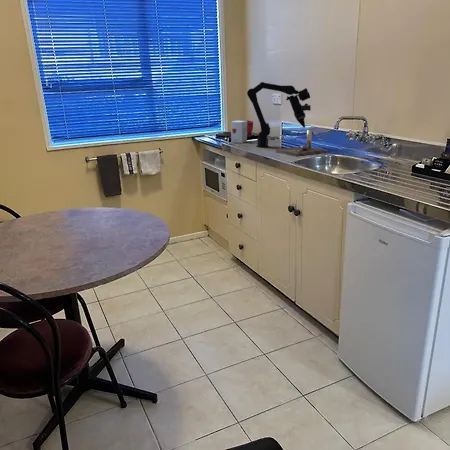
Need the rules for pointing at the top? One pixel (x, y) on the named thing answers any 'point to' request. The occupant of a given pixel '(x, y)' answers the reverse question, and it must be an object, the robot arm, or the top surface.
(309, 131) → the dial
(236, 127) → the supplement box
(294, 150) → the brown flat board
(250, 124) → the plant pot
